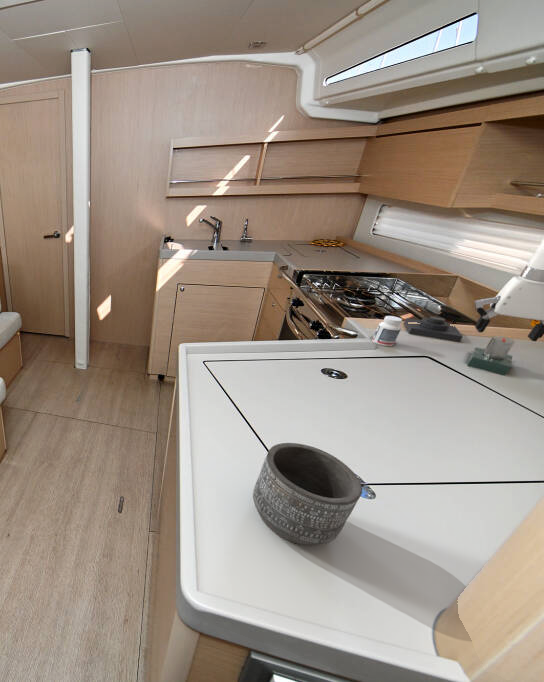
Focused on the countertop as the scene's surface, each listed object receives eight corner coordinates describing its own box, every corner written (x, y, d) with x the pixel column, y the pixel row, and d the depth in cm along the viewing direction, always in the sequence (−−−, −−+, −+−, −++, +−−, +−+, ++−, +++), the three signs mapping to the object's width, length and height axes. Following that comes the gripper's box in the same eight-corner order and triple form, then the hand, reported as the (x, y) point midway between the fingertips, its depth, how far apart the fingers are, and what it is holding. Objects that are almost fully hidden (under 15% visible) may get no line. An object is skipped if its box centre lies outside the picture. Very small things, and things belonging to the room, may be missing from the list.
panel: (467, 355, 107) (473, 345, 106) (509, 365, 102) (516, 356, 100) (463, 365, 103) (469, 355, 101) (508, 376, 97) (514, 366, 95)
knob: (482, 351, 103) (494, 333, 101) (504, 356, 100) (516, 338, 98) (481, 355, 101) (492, 338, 98) (503, 361, 98) (515, 342, 96)
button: (441, 322, 120) (443, 317, 119) (443, 326, 117) (446, 321, 117) (426, 320, 122) (428, 315, 121) (428, 323, 119) (431, 318, 118)
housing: (451, 331, 122) (457, 320, 120) (459, 342, 114) (465, 331, 113) (403, 323, 128) (408, 313, 126) (408, 333, 121) (413, 323, 119)
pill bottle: (397, 346, 114) (410, 321, 109) (381, 346, 114) (393, 321, 110) (382, 338, 118) (394, 314, 114) (367, 339, 118) (378, 315, 114)
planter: (258, 547, 57) (281, 493, 51) (240, 487, 68) (257, 436, 62) (346, 566, 54) (381, 511, 48) (313, 500, 65) (339, 448, 59)
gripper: (592, 277, 88) (547, 337, 96) (489, 267, 97) (456, 322, 105) (610, 285, 83) (560, 348, 91) (499, 274, 92) (463, 332, 100)
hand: (504, 334), depth 98 cm, fingers open, 9 cm apart
